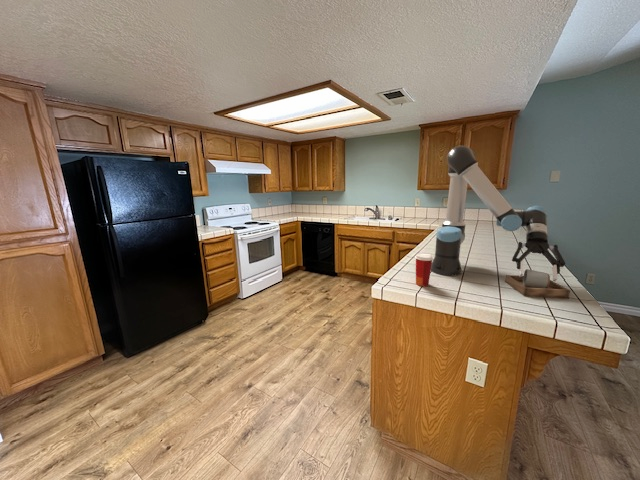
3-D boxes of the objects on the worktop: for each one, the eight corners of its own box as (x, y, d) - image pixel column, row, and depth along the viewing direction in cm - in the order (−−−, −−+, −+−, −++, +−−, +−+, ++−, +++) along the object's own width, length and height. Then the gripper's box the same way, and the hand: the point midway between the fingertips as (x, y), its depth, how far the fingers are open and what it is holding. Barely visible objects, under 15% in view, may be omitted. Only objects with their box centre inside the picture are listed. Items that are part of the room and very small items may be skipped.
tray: (524, 296, 107) (525, 288, 106) (504, 281, 122) (505, 274, 121) (568, 298, 104) (570, 290, 103) (542, 283, 119) (544, 276, 118)
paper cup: (430, 281, 123) (432, 254, 120) (431, 288, 116) (433, 258, 113) (413, 280, 126) (414, 252, 123) (413, 286, 119) (415, 257, 116)
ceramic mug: (548, 292, 107) (552, 274, 106) (524, 288, 111) (527, 271, 110) (543, 284, 116) (545, 268, 115) (520, 281, 120) (523, 265, 119)
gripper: (507, 228, 122) (506, 269, 112) (573, 232, 110) (578, 278, 100) (504, 237, 127) (503, 276, 118) (567, 242, 116) (571, 286, 106)
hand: (537, 277), depth 109 cm, fingers open, 10 cm apart
